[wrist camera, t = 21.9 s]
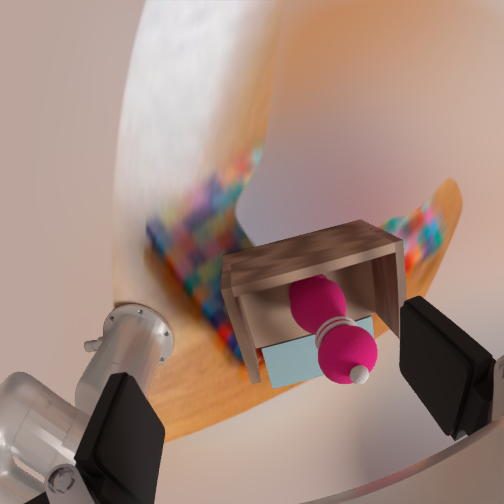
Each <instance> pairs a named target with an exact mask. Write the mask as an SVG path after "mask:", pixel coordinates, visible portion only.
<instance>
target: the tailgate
mask: <svg viewBox="0 0 504 504" xmlns="http://www.w3.org/2000/svg"><path fill="white" fill-rule="evenodd" d="M354 321H355V322H356V324H357V325H358V326H359V327H361V328H363V329H365V330H367V331H368V332H369V333H370V334H371V336H372V337H373V338H374V332H373V322H372V316H371V315H369V316H366V317H363V318H360V319H357V320H354ZM315 336H316V335H314V334H309V335H305V336H302V337H298V338H295V339H291V340H287V341H284V342H280V343H276V344H272V345H268V346H264V347H261V349H262V353H263V356H264V360H265V363H266V367H267V370H268V374H269V377H270V381H271V384H272V388H273V389H275V388H279V387H283V386H286V385H290V384H294V383H298V382H301V381H305V380H308V379H312V378H315V377H319V376H322V375H324V373H323V372H322V370H321V369H320V366H319V363H318V350H317V348H316V346H315Z"/></svg>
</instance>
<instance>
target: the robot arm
mask: <svg viewBox="0 0 504 504" xmlns="http://www.w3.org/2000/svg"><path fill="white" fill-rule="evenodd" d="M141 310H142V311H141ZM173 346H174V338H173V333H172V331H171V328H170V326H169V325H168V323H167V322H166V321H165V319H164V318H163V317H162V316H161V315H159V314H158V313H157V312H155V311H154V310H152V309H150V308H148V307H145V306H142V305H138V304H126V305H122V306H119V307H117V308H115V309H114V310H113V311H112V312H111V313H110V314H109V315H108V317H107V318H106V320H105V322H104V327H103V337H100V338H98V340H92V341H87V342H85V343H84V348H85V350H86V351H87V352H92V351H96V353H95V354H94V356H93V358H92V359H91V361H90V363H89V365H88V366H87V368H86V370H85V371H84V373H83V375H82V376H81V378H80V380H79V382H78V384H77V387H76V391H75V407H76V408H75V407H74V406H72V405H71V404H70V403H68V402H67V401H65V400H64V399H62V398H61V397H60V396H58V395H57V394H55V393H54V392H53V391H51V390H50V389H49V388H47V387H46V386H45V385H43V384H42V383H41V382H40V381H38V380H37V379H35V378H34V377H33V376H31V375H29V374H27V373H24V372H15V373H12V374H11V375H9V376H8V377H7V378H6V379H5V380H4V381H3V383H2V384H1V385H0V504H154V500H155V493H156V486H157V479H158V473H159V467H160V461H161V455H162V449H163V444H164V438H165V428H164V426H163V424H162V422H161V421H160V419H159V418H158V416H157V415H156V413H155V412H154V410H153V408H152V407H151V405H150V403H149V402H148V399H149V395H150V392H151V388H152V385H153V381H154V378H155V375H156V371H157V368H158V366H160V365H162V364H163V363H164V362H166V361H167V360H168V358H169V357H170V355H171V353H172V350H173ZM399 367H400V371H401V374H402V375H403V376H404V378H405V379H406V381H407V382H408V383H409V385H410V386H411V387H412V389H413V390H414V392H415V393H416V394H417V396H418V397H419V398H420V400H421V401H422V403H423V404H424V405H425V407H426V408H427V409H428V411H429V412H430V414H431V415H432V416H433V418H434V419H435V421H436V422H437V423H438V425H439V426H440V428H441V429H442V431H443V432H444V433H445V434H446V435H447V436H449V435H451V436H452V438H453V439H454V441H456V440H458V439H459V438H461V437H463V436H464V435H466V434H467V435H468V437H466V438H465V439H463V440H461V441H459V442H458V443H456V444H454V445H452V446H450V447H448V448H447V449H445V450H443V451H441V452H439V453H437V454H435V455H433V456H431V457H429V458H427V459H425V460H423V461H421V462H419V463H417V464H415V465H413V466H410V467H408V468H406V469H404V470H401V471H399V472H397V473H394V474H392V475H389V476H387V477H385V478H382V479H379V480H377V481H374V482H371V483H369V484H366V485H363V486H360V487H357V488H355V489H352V490H348V491H345V492H342V493H339V494H335V495H332V496H328V497H325V498H321V499H318V500H314V501H310V502H306V503H302V504H504V355H503V356H502V357H500V358H499V359H498V360H497V361H496V360H495V359H493V358H492V355H491V354H490V353H489V352H488V351H487V350H486V349H485V348H483V347H482V346H481V345H480V344H479V343H478V342H476V341H475V340H474V339H473V338H472V337H470V336H469V335H468V334H467V333H466V332H465V331H463V330H462V329H461V328H460V327H458V326H457V325H456V324H455V323H454V322H452V321H451V320H450V319H449V318H447V317H446V316H445V315H443V313H441V312H440V311H439V310H438V309H436V308H435V307H434V306H433V305H431V304H430V303H429V302H427V301H426V300H425V299H424V298H422V297H421V296H416V297H414V298H411V299H408V300H406V301H404V304H403V306H401V307H400V363H399ZM13 456H15V457H16V458H17V459H19V460H20V461H22V462H23V463H24V464H26V465H27V466H29V467H30V468H32V469H33V470H35V471H36V472H38V473H39V474H41V475H42V476H44V477H45V482H44V483H42V482H41V481H39V480H38V479H36V478H34V477H33V476H31V475H30V474H28V473H27V472H25V471H24V470H23V469H21V468H20V467H18V466H17V465H16V464H15V462H14V459H13Z"/></svg>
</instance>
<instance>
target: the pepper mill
mask: <svg viewBox="0 0 504 504" xmlns="http://www.w3.org/2000/svg"><path fill="white" fill-rule="evenodd" d="M289 300H290V302H291V304H290V309H291V314H292V316H293V318H294V320H295V321H296V323H297V324H298V325H299V326H300V327H301V328H302V329H304V330H305V331H307V332H309V333H311V334H314V335H316V336H315V346H316V348H317V350H318V363H319V366H320V369H321V370H322V372H323V373H324V375H325V376H326V377H327V378H329V379H330V380H331V381H334V382H336V383H339V384H351V383H355V384H362V383H364V382H365V381H366V380H367V379H368V377H369V373H370V371H371V370H372V369H373V367H374V366H375V363H376V360H377V346H376V343H375V340H374V338H373V337H372V336H371V334H370V333H369V332H368V331H367V330H365V329H363V328H361V327H359V326H358V325H357V324H356V322H355V321H354V320H352V319H351V318H349V317H345V316H346V300H345V297H344V294H343V292H342V290H341V289H340V287H339V286H338V285H337V284H336V283H335V282H333V281H331V280H329V279H328V278H327V277H326V276H324V275H323V274H319V275H316V276H312V277H309V278H305V279H301V280H298V281H294V282H292V284H291V286H290V289H289Z"/></svg>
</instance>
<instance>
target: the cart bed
mask: <svg viewBox="0 0 504 504" xmlns="http://www.w3.org/2000/svg"><path fill="white" fill-rule="evenodd" d="M319 274H323V275H324V276H326V277H327V278H328V279H329V280H331V281H333V282H335V283H336V284H337V285H338V286H339V287H340V289H341V290H342V292H343V294H344V297H345V300H346V316H345V317H349V318H351V319H352V320H357V319H360V318H363V317H366V316H369V315H372V314H375V313H376V314H377V315H378V316H379V317H380V318H381V319H382V320H383V321H384V322H385V324H386V325H387V326H388V327H389V328H390V329H391V330H392V331H393V332H394V334H395V335H396V336H397V337H398V338H399V339H400V307H401V306H403V304H404V301H406V277H405V260H404V247H403V240H402V239H400V238H398V237H396V236H394V235H392V234H390V233H388V232H386V231H384V230H382V229H379V228H377V227H375V226H373V225H371V224H369V223H367V222H365V221H363V220H357V221H353V222H350V223H346V224H342V225H338V226H334V227H330V228H326V229H323V230H319V231H315V232H311V233H307V234H303V235H299V236H296V237H292V238H288V239H284V240H281V241H276V242H273V243H269V244H265V245H261V246H257V247H253V248H249V249H246V250H242V251H238V252H234V253H230V254H226V255H223V258H222V276H221V292H222V296H223V299H224V302H225V305H226V308H227V311H228V314H229V318H230V321H231V324H232V327H233V330H234V333H235V336H236V339H237V342H238V345H239V348H240V351H241V354H242V357H243V360H244V363H245V365H246V368H247V371H248V374H249V377H250V380H251V383H252V384H254V383H259V382H261V379H260V373H259V366H258V360H257V354H256V348H260V347H264V346H268V345H272V344H276V343H280V342H284V341H287V340H291V339H295V338H298V337H302V336H305V335H309V334H311V333H309V332H307V331H305V330H304V329H302V328H301V327H300V326H299V325H298V324H297V323H296V321H295V320H294V318H293V316H292V314H291V309H290V304H291V302H290V300H289V289H290V286H291V284H292V282H294V281H298V280H301V279H305V278H309V277H312V276H316V275H319Z"/></svg>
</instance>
